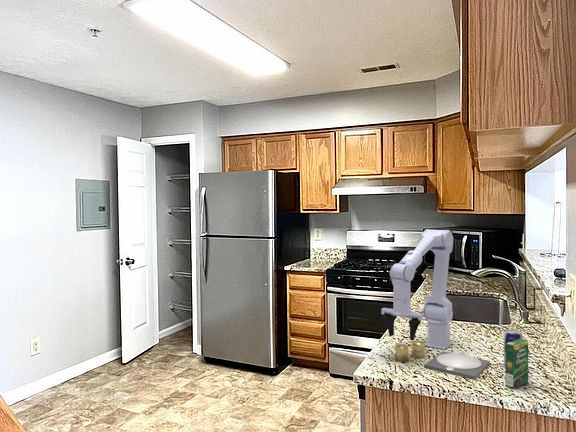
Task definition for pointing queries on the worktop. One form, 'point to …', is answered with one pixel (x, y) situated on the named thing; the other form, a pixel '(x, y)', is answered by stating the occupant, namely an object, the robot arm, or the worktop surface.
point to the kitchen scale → (457, 364)
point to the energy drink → (510, 339)
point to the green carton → (516, 363)
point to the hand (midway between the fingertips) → (401, 337)
